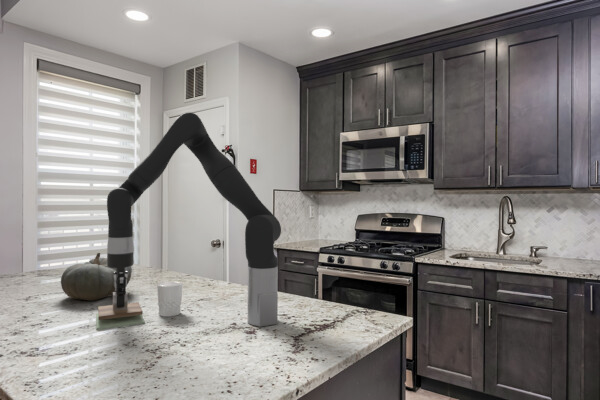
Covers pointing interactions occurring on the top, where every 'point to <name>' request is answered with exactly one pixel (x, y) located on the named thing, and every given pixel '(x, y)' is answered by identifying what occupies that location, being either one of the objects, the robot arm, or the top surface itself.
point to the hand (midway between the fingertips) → (120, 305)
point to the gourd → (90, 279)
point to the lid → (119, 309)
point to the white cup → (169, 298)
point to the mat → (118, 321)
